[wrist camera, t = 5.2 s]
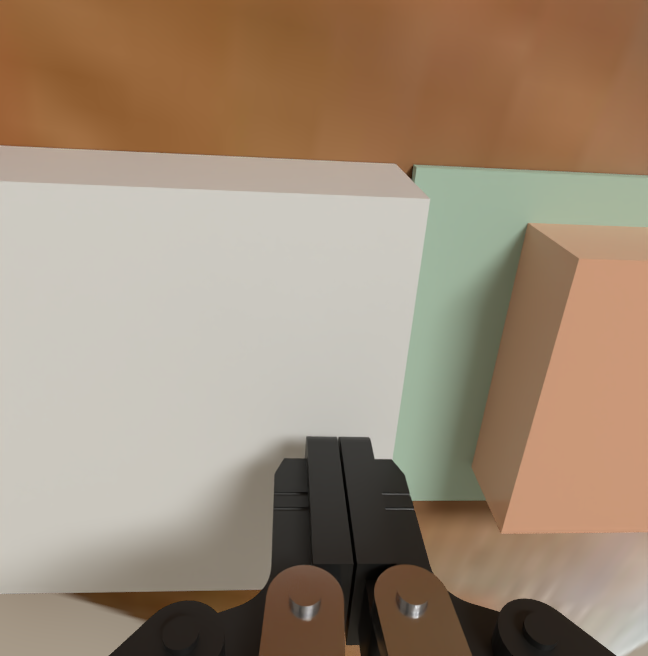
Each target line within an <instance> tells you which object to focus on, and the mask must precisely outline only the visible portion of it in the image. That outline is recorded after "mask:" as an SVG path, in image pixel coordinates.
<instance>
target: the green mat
mask: <svg viewBox="0 0 648 656" xmlns="http://www.w3.org/2000/svg"><path fill="white" fill-rule="evenodd" d="M412 181H413V182H414V183H415V184H416V185H417V186H418V187H419V188H420V189H421V190H422V191H423V192H424V193H425V194H426V195H427V196H428V197H429V198H430V204H429V211H428V218H427V225H426V232H425V239H424V246H423V253H422V260H421V266H420V273H419V280H418V287H417V294H416V301H415V308H414V315H413V322H412V329H411V335H410V342H409V349H408V356H407V363H406V370H405V377H404V384H403V391H402V398H401V404H400V411H399V418H398V425H397V432H396V439H395V446H394V453H393V461H394V463H395V464H396V465H397V466H398V467H399V468H400V470H401V471H402V472H403V473H404V474H405V477H406V481H407V485H408V488H409V492H410V496H411V499H412V501H475V500H486V499H485V497H484V494H483V492H482V490H481V488H480V485H479V483H478V481H477V479H476V476H475V474H474V472H473V470H472V462H473V458H474V454H475V450H476V445H477V441H478V437H479V432H480V428H481V424H482V419H483V415H484V411H485V406H486V402H487V398H488V393H489V389H490V385H491V380H492V376H493V372H494V367H495V363H496V359H497V354H498V350H499V346H500V341H501V337H502V333H503V328H504V324H505V320H506V315H507V311H508V307H509V302H510V298H511V294H512V289H513V285H514V281H515V276H516V272H517V268H518V263H519V259H520V255H521V251H522V246H523V242H524V238H525V233H526V229H527V225H528V223H546V224H573V225H600V226H628V227H648V176H647V175H625V174H603V173H582V172H560V171H538V170H517V169H495V168H473V167H452V166H430V165H413V173H412Z"/></svg>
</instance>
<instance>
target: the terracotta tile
mask: <svg viewBox="0 0 648 656" xmlns="http://www.w3.org/2000/svg"><path fill="white" fill-rule="evenodd" d="M472 470H473V472H474V474H475V476H476V479H477V481H478V483H479V485H480V488H481V490H482V492H483V494H484V497H485V499H486V501H487V503H488V506H489V508H490V510H491V512H492V515H493V517H494V519H495V521H496V524H497V526H498V528H499V530H500V533H501V534H512V533H609V532H648V227H628V226H600V225H573V224H546V223H528V225H527V229H526V233H525V238H524V242H523V246H522V251H521V255H520V259H519V263H518V268H517V272H516V276H515V281H514V285H513V289H512V294H511V298H510V302H509V307H508V311H507V315H506V320H505V324H504V328H503V333H502V337H501V341H500V346H499V350H498V354H497V359H496V363H495V367H494V372H493V376H492V380H491V385H490V389H489V393H488V398H487V402H486V406H485V411H484V415H483V419H482V424H481V428H480V432H479V437H478V441H477V445H476V450H475V454H474V458H473V462H472Z"/></svg>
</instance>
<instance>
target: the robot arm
mask: <svg viewBox="0 0 648 656" xmlns="http://www.w3.org/2000/svg"><path fill="white" fill-rule="evenodd" d="M345 637H346V645H360V653H361V656H616V655H615V654H613V653H612V652H611V651H610V650H608V649H607V648H606V647H604V646H603V645H602V644H600V643H599V642H598V641H596V640H595V639H594V638H592V637H591V636H590V635H589V634H587V633H586V632H585V631H583V630H582V629H581V628H579V627H578V626H577V625H575V624H574V623H573V622H572V621H570V620H569V619H568V618H566V617H565V616H564V615H562V614H561V613H560V612H558V611H557V610H555V609H554V608H552V607H551V606H549V605H547V604H545V603H542V602H540V601H537V600H532V599H517V600H513V601H511V602H509V603H507V604H506V605H505V606H504V607H503V608H502V610H501V611H500V612H498V611H495V610H491V609H488V608H485V607H481V606H478V605H474V604H471V603H468V602H466V601H463V600H461V599H459V598H457V597H456V596H454V595H453V594H451V593H450V592H449V591H447V589H446V587H445V586H444V585H443V583H442V582H441V581H440V580H439V579H438V578H437V577H436V576H435V575H434V574H433V572H432V570H431V567H430V564H429V560H428V557H427V553H426V549H425V546H424V542H423V539H422V535H421V531H420V528H419V524H418V521H417V517H416V513H415V511H414V506H413V503H412V499H411V496H410V492H409V488H408V485H407V481H406V477H405V474H404V473H403V472H402V471H401V470H400V468H399V467H398V466H397V465H396V464H395V463H394V461H393V460H392V459H375V458H374V453H373V449H372V444H371V440H370V438H369V437H338V439H337V437H326V436H306V445H305V458H284V459H283V461H282V462H281V464H280V465H279V467H278V469H277V470H276V472H275V474H274V500H273V529H272V559H271V572H270V576H269V579H268V581H267V583H266V585H265V586H264V588H263V589H262V590H261V591H260V592H259V593H258V595H256V596H255V597H254V598H253V599H251V600H250V601H248V602H246V603H245V604H242V605H240V606H237V607H234V608H231V609H228V610H225V611H222V612H219V613H217V612H216V611H215V610H214V609H212V608H211V607H210V606H208V605H206V604H204V603H201V602H197V601H180V602H176V603H173V604H170V605H168V606H166V607H164V608H162V609H161V610H159V611H158V612H156V613H155V614H154V615H153V616H152V617H151V618H149V619H148V620H147V621H146V622H145V623H144V624H143V625H142V626H141V627H140V628H139V629H138V630H137V631H135V632H134V633H133V634H132V635H131V636H130V637H129V638H128V639H127V640H126V641H125V642H123V643H122V644H121V645H120V646H119V647H118V648H117V649H116V650H115V651H114V652H112V653H111V654H110V655H109V656H345Z"/></svg>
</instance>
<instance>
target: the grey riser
mask: <svg viewBox="0 0 648 656" xmlns="http://www.w3.org/2000/svg"><path fill="white" fill-rule="evenodd" d="M429 204H430V198H429V197H428V196H427V195H426V194H425V193H424V192H423V191H422V190H421V189H420V188H419V187H418V186H417V185H416V184H415V183H414V182H413V181H412V180H411V179H410V178H409V177H408V176H407V175H406V174H405V173H404V172H403V171H402V170H401V169H400V168H399V167H398V166H397V165H396V164H387V163H365V162H343V161H322V160H300V159H278V158H257V157H235V156H213V155H192V154H170V153H148V152H127V151H105V150H84V149H62V148H40V147H19V146H0V594H27V593H28V594H31V593H32V594H35V593H94V592H153V591H212V590H262V589H263V588H264V586H265V585H266V583H267V581H268V579H269V576H270V572H271V559H272V529H273V500H274V474H275V472H276V470H277V469H278V467H279V465H280V464H281V462H282V461H283V459H284V458H305V445H306V436H326V437H337V439H338V437H369V438H370V440H371V444H372V449H373V453H374V458H375V459H392V460H393V453H394V446H395V439H396V432H397V425H398V418H399V411H400V404H401V398H402V391H403V384H404V377H405V370H406V363H407V356H408V349H409V342H410V335H411V329H412V322H413V315H414V308H415V301H416V294H417V287H418V280H419V273H420V266H421V260H422V253H423V246H424V239H425V232H426V225H427V218H428V211H429Z"/></svg>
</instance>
